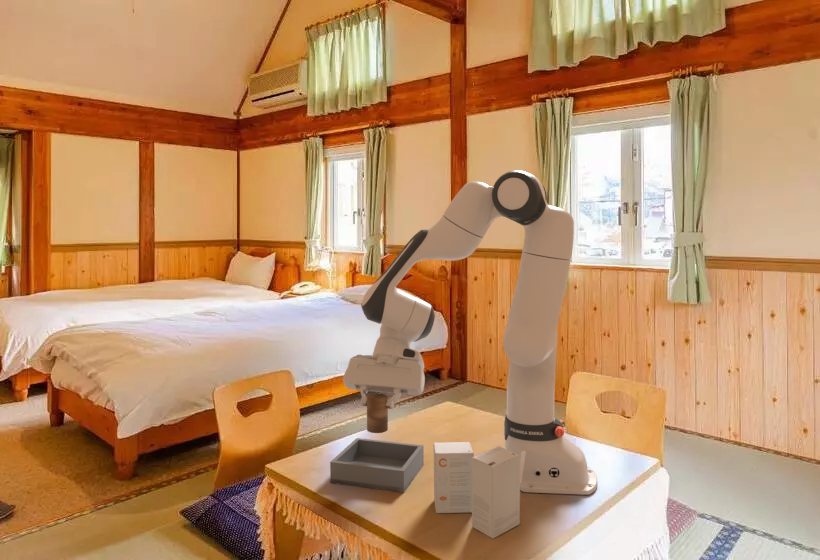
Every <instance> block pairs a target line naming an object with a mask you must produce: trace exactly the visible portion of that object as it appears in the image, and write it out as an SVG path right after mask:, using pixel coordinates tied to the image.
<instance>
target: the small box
mask: <svg viewBox="0 0 820 560" xmlns="http://www.w3.org/2000/svg"><path fill="white" fill-rule="evenodd" d="M474 456H475V453H474V450H473V448H472V445H471V441H460V442H459V441H455V442H454V441H453V442H452V441H451V442H450V441H448V442H446V441H445V442H433V500H434V509H435V514H453V513H454V514H458V513H462V514H463V513H466V514H467V513H471V514H472V457H474Z"/></svg>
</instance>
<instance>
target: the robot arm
mask: <svg viewBox="0 0 820 560" xmlns="http://www.w3.org/2000/svg"><path fill="white" fill-rule="evenodd" d="M547 198H548V196H547V191H546V188H545V186H544V185H543V184H542V182H541V181H540V179H539V178H538V177H536V176H535V175H534V174H532V173H529V172H528V171H524V170H518V169H515V170H510V171H507V172H505V173H503V174H502V175H500V176H499V177H498V178H497V180H496V181H495V183H494V184H493V186H491V185H489V184H487V183H485V182H482V181H477V180H476V181H475V180H472V181H469V182H467V183H465V184H464V185H463V186H462V187H461V188H460V189H459V190H458V192H457V193H456V194H455V196H454V197H453V199H452V200H451V201H450V203H449V204H448V206H447V207H446V209H445V211H444V213H443V214H442V216H441V217H440V219H439V220H438V221H437V222H436V223H435V224H434V225H433V226H431V227H430V228H428V229H420V230H419V231H417V233H415V234H414V235H413V236H412V237H411V239H409V241H408V242H407V243H406V244H405V246H404V247H403V248H402V249H401V250H400V251H399V253H398V254H397V255H396V257H394V259H393V260H392V261H391V263H390V264H389V265H388V267H387V268H386V269H385V270H384V272H383V273H382V274H381V275H380V276H379V278H378V279H376V280H375V282H374V283H373V284H372V285H371V286H370V287H369V288H368V289H367V291H365V294H364V295H363V298H362V301H361V304H360V306H361V307H360V308H361V310H362V312H363V314H364V316H365V318H366V319H367V320H369V322H373V323H376V324H381V325H380V328H379V337H378V338H377V340H376V343H375V344H374V345H375V346H374V349H373V352H372V355H371V354H369V355H368V354H365V355H363V354H357V355H354V356H352V357H351V358H350V359H349V361H348V366H347V368H346V370H345V372H344V374H343V377H342V381H343V382H342V383H344V387H346V389H348V390H355V391H356V390H358V391H360V394H361V399H360V405H361V407H367V396H366V395H367V394H368V393H369V392H377V393H378V392H379V393H388V394H393V396H392V397H391V398H388V399H387V403H386V407H387V408H388V410H389V409H390V410H393V409H394V407H395V404H396V403H397V402H398V401H399V399H401V397H402V395H409V396H420V395H421V394H423V392H424V388H425V382H426V381H425V380H426V377H425V372H424V370H425V362H424V359H423V356H422V355H421V352H420V351H417V350H415V349H412V348H411V347H410V346H411V344H412V343H415V342H418V341H420V340H422V339H424V338H427V337H428V336H429V334H430V333H431V331H432V330H433V327H434V322H435V318H436V315H435V310H434V308H433V305H432V304H430V303H429V302H427V301H425V300H423V299H420V298H419V297H417V296H414V295H412V294H409V293H408V292H406V291H403V290H402V289H399V288H397V286H398V284H399V283H400V282H401V281H402V279H403V278H404V277H405V276H406V275H407V273H408V272H409V271H410V270H411V268H412V267H413V266H414V265H415V264H417V263H418V262H421V261H425V260H439V261H448V262H451V261H454V262H455V261H460V260H463V259H466V258H469V256H472V255H473V254H474V252H476V250H477V248H478V247H479V245H480V244H481V242H482V240H483V239H484V237H485V235H486V233H487V231H488V230H489V229H490V226H491V225H492V224H493V223H494V222H495V220H497V219H498V218H501V217H505V218H506V219H508V220H511V221H513V222H514V223H515V222H516V224H519V225H521V226H522V227H523V229H524V240H523V245H522V251H521V255H520V256H521V257H520V261H519V262H520V263H519V268H518V273H517V279H516V283H515V284H516V285H515V288H514V293H513V296H512V300H511V304H510V307H509V311H508V312H509V313H508V315H507V321H506V324H505V330H504V333H503V339H502V340H503V341H502V342H503V343H502V344H503V349H504V353H505V355H506V356H507V358H508V359H509V364H508V374H507V382H506V414H505V417H504V421H503V423H504V424H503V436H504V440H505V442H504V443H505V444H504V449H507V450H509V451H512V452H514V453H516V454H519V455H520V492H523V493H536V494H537V493H538V494H540V493H541V494H561V495H583V496H584V495H591V494H592V493H594V492H595V491H596V489H597V488H598V477H597V474H596V472H595V471H594V470H593V468H591V467H589V466H588V462H587V459H586V456H585V453H584V451H583V450H582V449H581V448H580V447H579V445H577V444H575V443H574V442H573V441H571V440H570V439H569V438H567V436H565V428H564V424H563V420H562V419H561V418H560V419H558V418H556V417H555V388H556V370H557V369H556V367H557V354H558V353H557V350H558V349H557V348H558V328H557V327H558V325H559V324H558V323H559V318H560V314H561V310H562V305H563V301H564V297H565V292H566V287H567V283H568V276H569V270H570V267H571V266H570V265H571V261H572V254H573V248H574V237H575V236H574V235H575V230H574V229H575V228H574V226H575V222H574V218H573V216H572V215H571V214H570V212H568V211H567V210H566V209H563V208H560V207H557V206H553V205H550V204H549V203H548V202H547Z"/></svg>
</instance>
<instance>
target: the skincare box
mask: <svg viewBox="0 0 820 560" xmlns="http://www.w3.org/2000/svg"><path fill="white" fill-rule="evenodd" d="M520 509H521V490H520V455H519V454H516V453H514V452H512V451H509V450H507V449H505V447H502V446H496V447H494V448H492V449H489V450H487V451H485V452H482V453H480V454H477V455H474V457H472V513H471V526H472V528H474V529H476V530H478V532H481V533H482V534H484V535H485V536H487V537H489V538H491V539H495V538H497V537H498V536H500V535H502V534H504V533H506V532H507V531H509V530H511V529H513V528H515V527H516V526H519V525H520V524H521V521H520V520H521V519H520V518H521V517H520V516H521V515H520V513H521V510H520Z"/></svg>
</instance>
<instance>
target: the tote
mask: <svg viewBox="0 0 820 560" xmlns="http://www.w3.org/2000/svg"><path fill="white" fill-rule="evenodd" d="M424 447H425V446H424V445H423V444H414V443H407V442H398V441H397V442H395V441H386V440H377V439H369V438H368V439H367V438H359V437H356V438H355V439H354V440H353V441H351V442H350V443H349V444H348V445H347V446H346V447H345V448H344V449H343V450H341V452H339V454H337V455H336V456H335V457H334V458H333V459H332V460H331V461H329V463H330V464H329V465H330V467H329V468H330V469H329V471H330V475H329V476H330V483H331V482H333V483H332V484H336V483H339V484H338V485H344V484H345V485H346V486H351V487H360V488H366V489H367V488H368V489H375V490H381V491H388V492H389V491H391V492H395V493H396V492H397V493H403V494H404V493H405V492H406V490H407V489H408V488H409V486H410V485H411V483H412V482H413V481H414V479H415V478H416V476H417V475H418V473H419V472H420V471H421V469H422V468H423V466H424V465H425V464H424V457H425V456H424V455H425V454H424V450H425V449H424Z"/></svg>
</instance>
